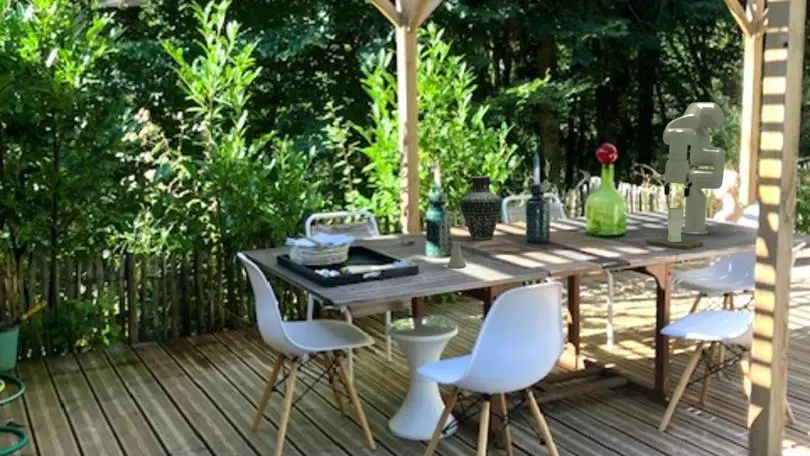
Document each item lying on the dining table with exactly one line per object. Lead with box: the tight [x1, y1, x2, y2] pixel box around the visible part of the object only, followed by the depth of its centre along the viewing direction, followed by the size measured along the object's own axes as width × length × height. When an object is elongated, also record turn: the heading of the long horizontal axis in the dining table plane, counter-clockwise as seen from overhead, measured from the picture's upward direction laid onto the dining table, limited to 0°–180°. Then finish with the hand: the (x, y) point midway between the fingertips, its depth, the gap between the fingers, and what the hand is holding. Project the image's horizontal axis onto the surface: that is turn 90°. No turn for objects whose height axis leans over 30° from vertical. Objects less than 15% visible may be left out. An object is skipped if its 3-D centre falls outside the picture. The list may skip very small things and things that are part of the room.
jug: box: [459, 175, 504, 240], centre depth 392 cm, size 21×19×30 cm
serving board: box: [645, 237, 704, 251], centre depth 371 cm, size 14×20×2 cm
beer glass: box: [666, 207, 685, 243], centre depth 370 cm, size 7×7×15 cm
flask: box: [447, 241, 467, 269], centre depth 326 cm, size 7×7×10 cm
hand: (676, 195), depth 368 cm, fingers open, 9 cm apart
